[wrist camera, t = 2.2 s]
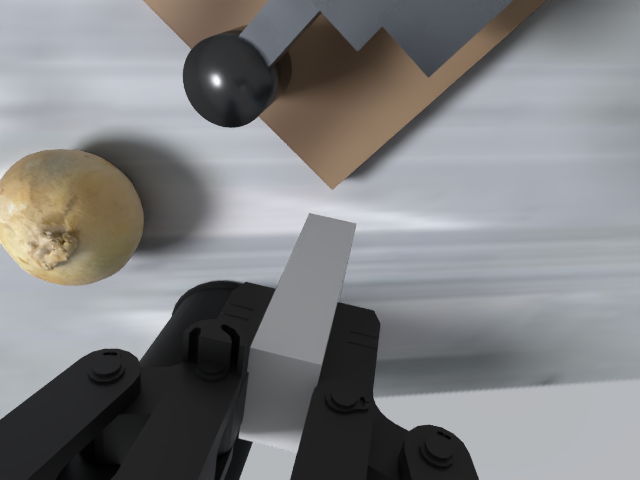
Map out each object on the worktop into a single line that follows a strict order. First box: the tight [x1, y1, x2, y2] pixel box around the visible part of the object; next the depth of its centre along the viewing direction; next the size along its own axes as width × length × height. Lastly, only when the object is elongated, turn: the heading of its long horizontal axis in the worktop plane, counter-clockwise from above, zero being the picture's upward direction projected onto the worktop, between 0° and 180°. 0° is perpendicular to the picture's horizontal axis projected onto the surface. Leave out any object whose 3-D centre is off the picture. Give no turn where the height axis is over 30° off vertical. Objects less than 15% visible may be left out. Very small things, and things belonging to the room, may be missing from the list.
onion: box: [0, 149, 144, 286], centre depth 30 cm, size 8×8×7 cm
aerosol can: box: [139, 282, 253, 480], centre depth 27 cm, size 8×8×20 cm
